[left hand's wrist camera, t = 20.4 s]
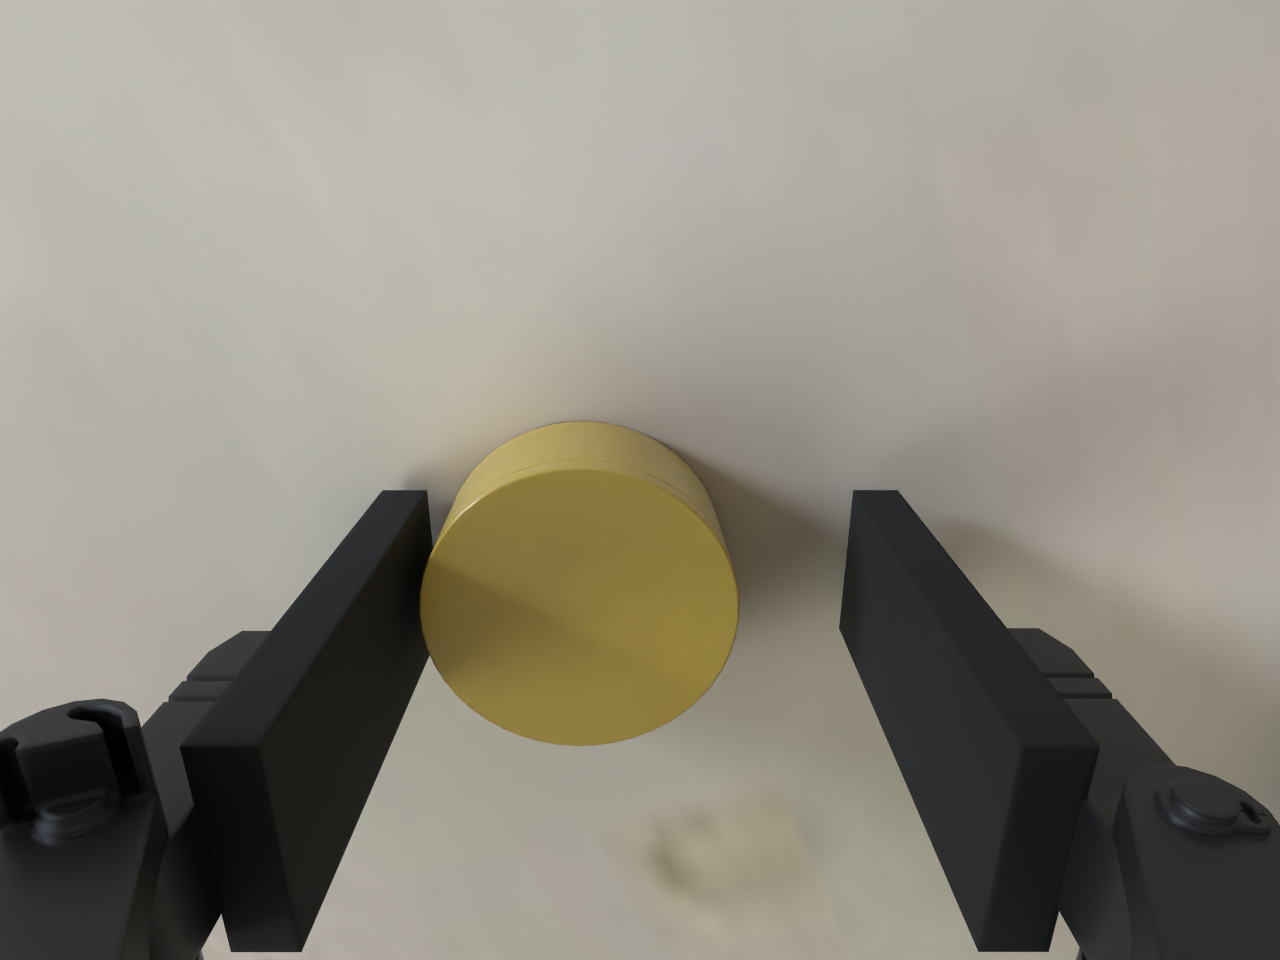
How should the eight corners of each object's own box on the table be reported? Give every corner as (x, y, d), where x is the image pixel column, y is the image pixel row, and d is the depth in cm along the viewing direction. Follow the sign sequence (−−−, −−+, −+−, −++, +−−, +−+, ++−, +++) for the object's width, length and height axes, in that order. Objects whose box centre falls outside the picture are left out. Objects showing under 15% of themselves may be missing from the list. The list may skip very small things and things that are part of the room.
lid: (489, 689, 16) (471, 773, 13) (409, 454, 14) (374, 507, 12) (741, 638, 15) (762, 713, 13) (693, 392, 14) (709, 435, 11)
